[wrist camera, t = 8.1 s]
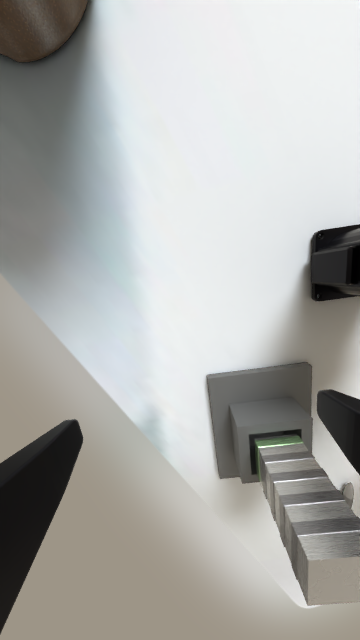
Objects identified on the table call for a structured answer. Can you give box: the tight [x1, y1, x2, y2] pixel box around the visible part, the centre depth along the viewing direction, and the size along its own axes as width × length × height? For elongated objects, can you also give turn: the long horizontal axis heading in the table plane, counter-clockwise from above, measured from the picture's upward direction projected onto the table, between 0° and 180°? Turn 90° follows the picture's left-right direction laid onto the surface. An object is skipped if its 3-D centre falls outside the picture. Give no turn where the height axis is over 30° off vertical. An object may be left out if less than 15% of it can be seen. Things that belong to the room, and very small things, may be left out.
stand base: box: [207, 362, 313, 483], centre depth 20 cm, size 11×14×5 cm
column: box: [254, 434, 360, 606], centre depth 14 cm, size 4×4×8 cm
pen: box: [342, 482, 354, 508], centre depth 25 cm, size 1×14×1 cm, turn 3°
